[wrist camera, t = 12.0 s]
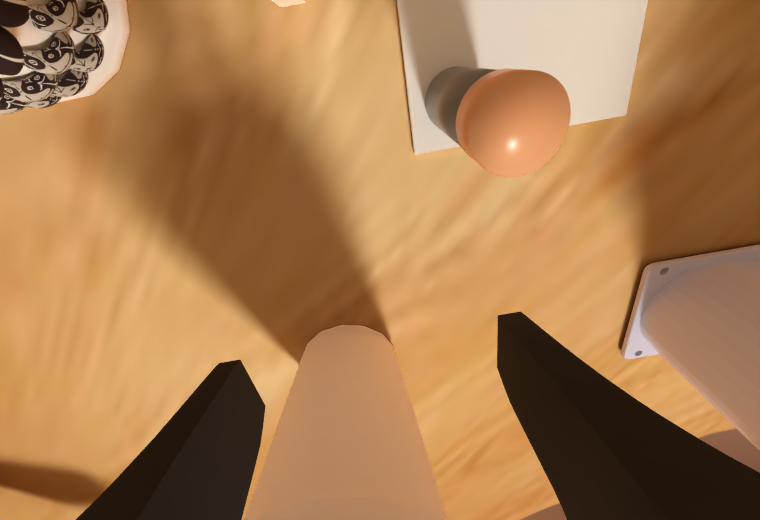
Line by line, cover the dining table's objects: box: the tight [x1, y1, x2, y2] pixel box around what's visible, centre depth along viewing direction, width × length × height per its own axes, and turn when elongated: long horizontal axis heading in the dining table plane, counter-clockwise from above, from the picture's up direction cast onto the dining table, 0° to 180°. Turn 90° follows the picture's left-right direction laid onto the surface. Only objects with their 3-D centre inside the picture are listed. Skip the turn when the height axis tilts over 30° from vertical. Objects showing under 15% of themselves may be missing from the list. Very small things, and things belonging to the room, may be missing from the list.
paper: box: [397, 0, 648, 155], centre depth 14 cm, size 10×8×1 cm
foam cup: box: [244, 325, 448, 520], centre depth 18 cm, size 10×9×13 cm
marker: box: [425, 66, 571, 177], centre depth 12 cm, size 3×3×7 cm
